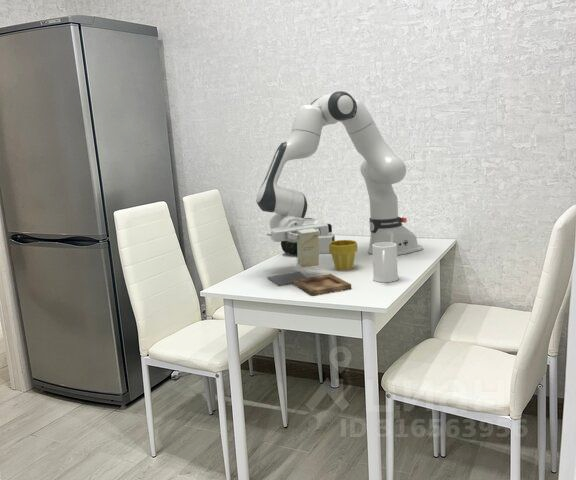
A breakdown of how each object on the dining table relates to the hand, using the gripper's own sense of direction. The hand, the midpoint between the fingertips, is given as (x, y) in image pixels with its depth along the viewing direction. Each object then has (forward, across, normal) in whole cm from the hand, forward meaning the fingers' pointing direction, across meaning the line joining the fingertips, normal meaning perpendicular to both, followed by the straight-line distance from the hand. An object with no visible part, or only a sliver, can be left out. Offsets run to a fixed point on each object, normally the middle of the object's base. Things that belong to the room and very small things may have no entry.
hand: (307, 235), depth 191 cm
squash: (-48, +15, +17) cm, 54 cm away
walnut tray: (+4, +2, +17) cm, 18 cm away
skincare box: (-1, 0, +10) cm, 11 cm away
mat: (-10, -4, +17) cm, 20 cm away
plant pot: (-14, +19, +17) cm, 29 cm away
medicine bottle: (-43, +25, +17) cm, 53 cm away
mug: (+10, +23, +17) cm, 30 cm away
